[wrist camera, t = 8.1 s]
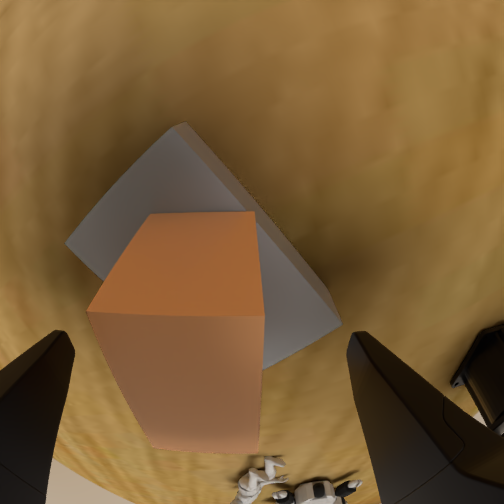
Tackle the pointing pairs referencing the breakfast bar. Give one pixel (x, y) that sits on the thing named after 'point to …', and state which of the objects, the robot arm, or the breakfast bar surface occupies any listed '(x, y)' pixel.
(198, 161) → the grey brick
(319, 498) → the robot toy
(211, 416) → the orange brick
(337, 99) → the breakfast bar surface
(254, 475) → the white plastic figure
